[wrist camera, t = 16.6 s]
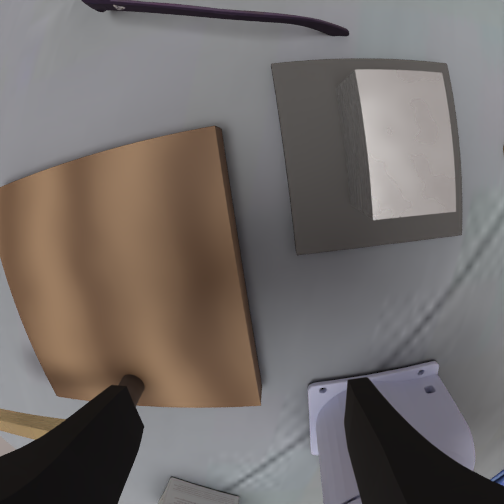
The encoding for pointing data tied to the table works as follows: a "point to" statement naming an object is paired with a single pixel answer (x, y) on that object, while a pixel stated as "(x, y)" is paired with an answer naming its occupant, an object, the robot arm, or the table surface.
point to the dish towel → (499, 478)
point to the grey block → (397, 143)
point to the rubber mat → (343, 160)
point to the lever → (27, 424)
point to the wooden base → (134, 274)
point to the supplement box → (193, 494)
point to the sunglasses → (216, 14)
